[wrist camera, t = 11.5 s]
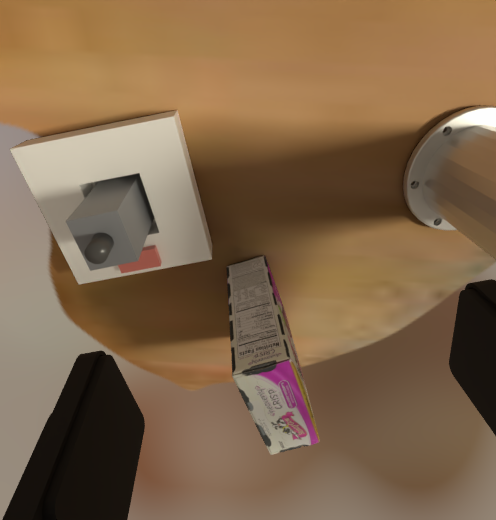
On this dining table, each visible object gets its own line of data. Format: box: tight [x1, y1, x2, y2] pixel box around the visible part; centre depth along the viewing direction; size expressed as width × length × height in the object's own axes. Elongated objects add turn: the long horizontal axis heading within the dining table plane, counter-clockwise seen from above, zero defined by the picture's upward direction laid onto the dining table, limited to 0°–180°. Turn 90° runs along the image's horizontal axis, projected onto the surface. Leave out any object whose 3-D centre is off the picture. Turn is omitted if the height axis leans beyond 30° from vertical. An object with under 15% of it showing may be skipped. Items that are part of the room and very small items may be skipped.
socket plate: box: [10, 110, 212, 284], centre depth 35 cm, size 14×14×4 cm
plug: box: [66, 173, 154, 271], centre depth 31 cm, size 4×4×11 cm
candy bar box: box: [227, 255, 320, 455], centre depth 37 cm, size 11×5×16 cm, turn 17°
